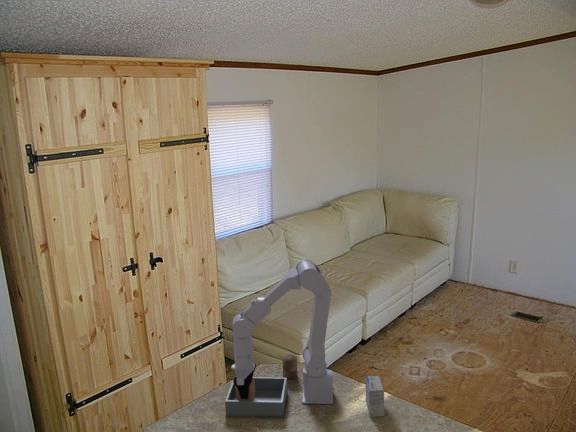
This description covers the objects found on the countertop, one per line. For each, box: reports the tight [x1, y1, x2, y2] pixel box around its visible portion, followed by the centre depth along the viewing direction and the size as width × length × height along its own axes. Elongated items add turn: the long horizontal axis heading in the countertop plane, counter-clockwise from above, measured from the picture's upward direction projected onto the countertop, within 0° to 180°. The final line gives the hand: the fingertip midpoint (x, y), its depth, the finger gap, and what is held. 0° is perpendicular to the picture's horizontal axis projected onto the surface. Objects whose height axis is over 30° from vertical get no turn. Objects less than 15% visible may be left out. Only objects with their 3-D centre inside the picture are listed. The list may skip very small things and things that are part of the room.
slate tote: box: [224, 376, 288, 419], centre depth 142 cm, size 17×13×5 cm
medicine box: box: [365, 375, 385, 418], centre depth 137 cm, size 8×4×9 cm, turn 179°
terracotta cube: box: [236, 378, 255, 401], centre depth 142 cm, size 5×5×5 cm
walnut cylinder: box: [281, 353, 298, 382], centre depth 156 cm, size 5×5×7 cm
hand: (246, 393), depth 142 cm, fingers closed on terracotta cube, 5 cm apart
